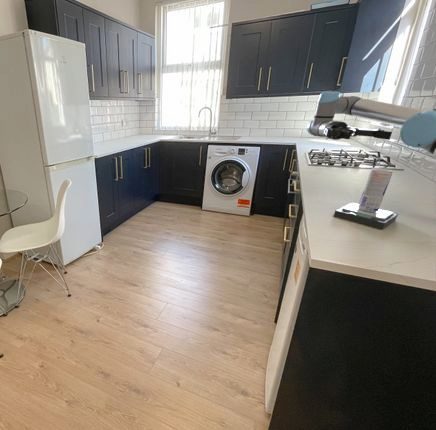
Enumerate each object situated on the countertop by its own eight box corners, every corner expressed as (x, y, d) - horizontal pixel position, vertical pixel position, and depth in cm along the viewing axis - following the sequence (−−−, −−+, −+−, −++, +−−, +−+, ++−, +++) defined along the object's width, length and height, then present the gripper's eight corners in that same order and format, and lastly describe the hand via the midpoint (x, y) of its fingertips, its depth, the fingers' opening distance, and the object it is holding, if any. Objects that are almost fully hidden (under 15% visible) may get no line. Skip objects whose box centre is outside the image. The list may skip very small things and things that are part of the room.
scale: (395, 220, 100) (398, 212, 99) (382, 230, 92) (385, 221, 91) (348, 209, 110) (350, 201, 109) (333, 216, 103) (335, 208, 102)
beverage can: (381, 213, 98) (397, 171, 92) (363, 212, 99) (378, 170, 93) (371, 207, 103) (385, 167, 97) (354, 206, 104) (367, 167, 98)
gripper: (361, 139, 122) (402, 146, 102) (301, 138, 124) (330, 145, 105) (367, 121, 119) (410, 125, 99) (305, 120, 121) (336, 124, 102)
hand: (369, 135), depth 102 cm, fingers open, 13 cm apart
